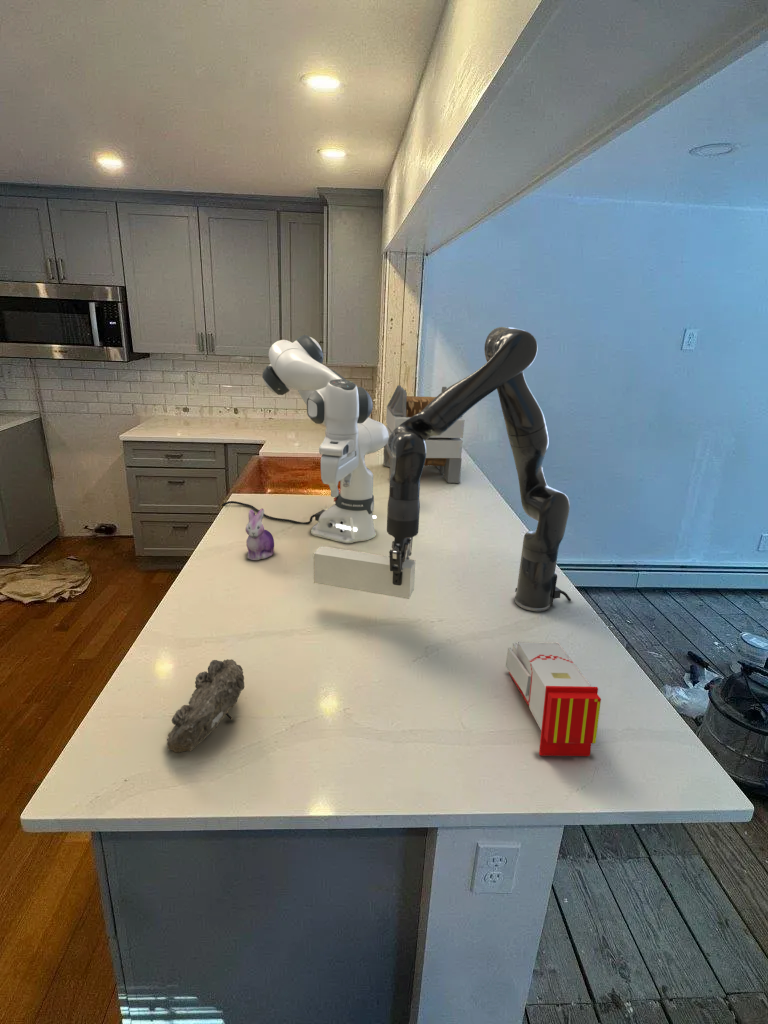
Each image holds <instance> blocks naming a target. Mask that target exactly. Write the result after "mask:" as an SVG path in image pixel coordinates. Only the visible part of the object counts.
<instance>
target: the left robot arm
mask: <svg viewBox="0 0 768 1024" xmlns="http://www.w3.org/2000/svg"><path fill="white" fill-rule="evenodd" d="M268 360H269V364H268V365H266V367H265V368H264V369H263V371H262V379H263V383H264V384H265V386H266V388H267V389H268V390H269V391H271V392H272V393H274V394H276V395H278V396H284V395H285V394H287V393H289V392H290V390H291V389H293V390H297V393H298V394H299V397H300V398H301V399H302V401H303V402H304V404H305V405H306V414H307V417H309V419H310V420H311V421H312V422H313V423H315V424H316V425H323V426H324V427H325V436H324V438H323V440H322V442H321V444H320V445H319V448H318V454H319V455H321V457H320V478H321V482H322V484H324V485H328V487H329V489H330V497H331V498H333V502H334V504H333V505H331V506H329V507H328V508H326V509H322V510H320V511H317V512H316V513H315V514H312V515H310V517H309V520H308V521H305V522H303V521H302V522H301V521H297V520H294V519H290V518H289V519H288V518H281V517H274V516H270V515H268V514H266V513H264V515H263V518H266V519H269V520H273V521H277V522H286V523H292V524H296V525H297V524H298V525H310V524H311V523H312V522H313V519H314V521H316V522H317V523H315V524H314V525H313V526H312V528H311V530H310V533H311V536H315V537H319V538H323V539H326V540H330V541H336V542H339V543H343V544H352V543H357V542H365V541H368V540H372V539H373V538H375V537H376V535H377V532H376V528H375V523H374V519H377V515H374V513H373V512H374V509H375V496H374V473H373V471H372V470H371V469H369V468H368V467H367V464H366V459H365V457H366V456H367V455H371V454H374V453H377V452H378V451H380V450H381V449H384V446H385V445H386V444H387V442H388V438H389V434H388V430H387V428H386V425H385V424H384V423H383V422H381V421H378V420H375V419H373V418H371V417H370V416H371V414H372V412H373V407H374V405H373V399H372V396H371V395H370V394H369V392H368V391H367V390H366V389H365V388H364V387H362V386H358V385H357V384H356V383H354V382H353V381H352V380H349V379H348V380H347V379H346V378H345V377H343V376H342V375H341V374H339V373H338V372H337V371H335V370H334V369H332V368H330V367H328V366H327V365H324V364H323V362H324V352H323V350H322V347H321V345H320V343H319V342H318V341H317V340H316V339H315V338H313V337H311V336H309V334H303V335H300V336H298V337H297V338H295V340H294V341H293V342H292V341H290V340H286V339H280V340H277V341H275V342H273V343H272V344H271V346H270V347H269V349H268ZM339 482H340V484H339ZM339 485H340V488H339V487H338V486H339ZM230 504H234V505H235V504H236V505H240V506H243V507H247V508H248V507H249V508H250V509H252V510H253V511H254V512H257V513H258V512H259V510H260V509H259V508H256V507H255V506H254V505H252V504H249V503H244V502H240V501H236V500H229V501H225V502H223V504H222V505H221V506H222V507H225V506H226V505H230Z"/></svg>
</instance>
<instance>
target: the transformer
mask: <svg viewBox="0 0 768 1024" xmlns="http://www.w3.org/2000/svg"><path fill="white" fill-rule="evenodd" d="M447 388H448V387H447V386H442V387H441V392H443V391H444V390H445V389H447ZM407 394H408V393H407V390H406V389H404V388H403V387H402V385H399V384H398V385H397V386H396V388H395V390H394V392H393V394H392V395H391V398H390V400H389V402H388V404H387V405H386V413H385V414H386V415H385V423H386V425H385V427H386V428H387V430H388V434H389V436H390V435H391V433H392V432H393V431H394V430H395V429H396V428H397V427H398V426H399V425H400V424H402V423H403V422H405V421H406V420H408V419H409V418H411V417H412V416H414V415H416V414H418V413H419V412H421V411H422V410H423V409H424V408H425V407H426V406H427V405H428V404H429V403H430V402H431V401H433V400H434V399H435V398H436V397H437V396H415V395H414V396H413V395H412V396H411V395H407ZM464 429H465V419H464V418H463V415H462V416H461V417H460V418H459V419H458V420H457V421H456V422H455V423H454V424H453V425H452V426H451V427H449V428H448V429H447V430H446V431H445V432H444V433H442V434H441V435H438V436H431V437H429V438H428V439H427V440H425V444H426V459H425V464H424V467H436V468H437V470H438V469H439V473H440V474H441V475H443V478H444V479H445V481H446V482H447V483H449V484H455V483H456V484H459V483H461V472H462V461H463V460H462V453H463V442H464V441H463V440H462V439H463V438H464V431H465V430H464ZM388 439H389V438H388ZM395 465H396V456H394V455H393V454H392V453H391V452H390V450H389V448H388V442H387V444H386V445H385V446H384V447H383V466H384V467H388V468H389V475H388V476H389V477H388V478H389V479H390V476H391V474H392V472H393V471H395Z"/></svg>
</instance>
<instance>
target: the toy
mask: <svg viewBox="0 0 768 1024" xmlns="http://www.w3.org/2000/svg"><path fill="white" fill-rule="evenodd" d="M511 646H512V647H508V648H507V653H506V658H505V659H506V660H505V668H506V669H507V671H508V675H509V676H510V677H511V679H512V681H513V682H514V684H515V686H516V688H517V689H518V691H519V693H520V694H521V696H522V698H523V700H524V702H525V703H526V705H527V706H528V708H529V710H530V712H531V715H532V716H533V718H534V720H535V722H536V723H537V724H536V725H537V726H538V727H539V730H540V731H541V733H540V739H539V740H540V741H539V749H538V751H539V752H538V754H539V756H543V757H548V756H550V757H551V756H552V757H553V756H554V757H568V756H569V757H591V751H592V744H596V743H597V734H598V726H599V717H600V710H601V702H602V698H601V697H600V696H599V694H598V693H599V688H598V686H592V684H590V682H589V681H588V680H587V678H586V677H585V676H584V675H583V673H582V672H581V671H580V669H579V668H578V667H577V665H576V664H575V663H574V661H573V660H572V659H571V658H570V656H569V655H568V654H567V652H566V651H565V649H564V647H562V645H561V644H560V643H559V642H553V641H551V642H549V641H548V642H547V641H546V642H545V641H517V642H512V645H511Z"/></svg>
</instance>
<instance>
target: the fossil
mask: <svg viewBox="0 0 768 1024" xmlns="http://www.w3.org/2000/svg"><path fill="white" fill-rule="evenodd" d="M243 670H244V669H243V667H242V665H240V664H237V662H236V661H235V660H234V659H232V658H231V659H227V658H226V659H224V660H223V661H222V660H217V659H212V660H211V661H210V663H209V665H208V666H207V671H201V672H199V673H198V674H197V675H196V676H195V680H194V684H195V685H194V687H195V689H194V690H193V693H192V694H191V697H190V698H189V700H188V704H184V705H182V706H181V707H180V709H177V710H176V711H175V713H174V715H173V716H172V718H171V723H172V724H173V727H172V730H171V731H170V732H168V734H167V738H166V741H167V742H166V745H167V749H168V750H169V751H173V752H174V753H176V754H178V753H182V752H188V751H189V752H192V751H193V750H195V748H196V747H197V746H199V744H200V743H201V742H203V741H204V740H205V739H206V738H207V737H208V736H209V735H210V734H211V733H212V732H214V730H215V729H217V727H218V726H219V724H220V722H221V721H222V720H223V719H224V718H225V716H226V717H227V719H229V720H233V717H232V715H230V714H229V710H230V709H231V708H234V706H235V704H236V703H237V702H238V699H239V697H240V695H241V693H242V691H243V690H245V689H244V688H245V675H244V671H243Z"/></svg>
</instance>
